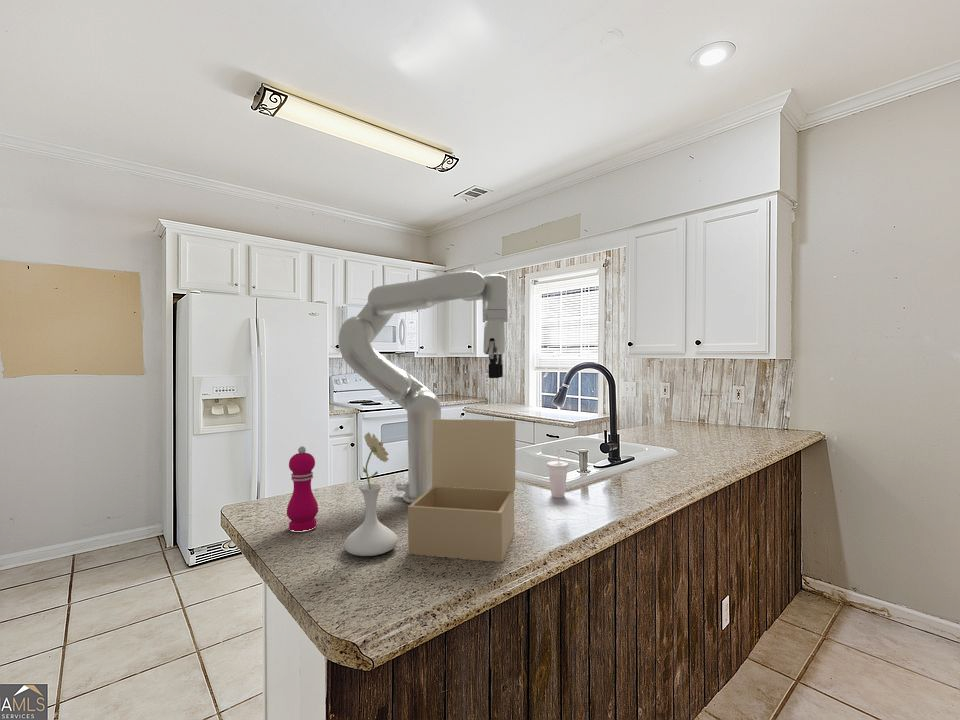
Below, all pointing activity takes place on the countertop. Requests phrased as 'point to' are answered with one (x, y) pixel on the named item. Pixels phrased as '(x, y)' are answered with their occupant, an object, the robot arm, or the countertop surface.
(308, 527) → the pepper mill
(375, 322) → the robot arm
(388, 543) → the flower in vase
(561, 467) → the smoothie
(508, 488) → the carton lid
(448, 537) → the carton
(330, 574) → the countertop surface
